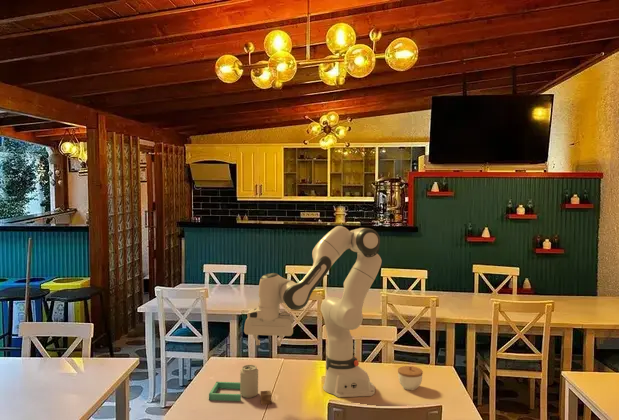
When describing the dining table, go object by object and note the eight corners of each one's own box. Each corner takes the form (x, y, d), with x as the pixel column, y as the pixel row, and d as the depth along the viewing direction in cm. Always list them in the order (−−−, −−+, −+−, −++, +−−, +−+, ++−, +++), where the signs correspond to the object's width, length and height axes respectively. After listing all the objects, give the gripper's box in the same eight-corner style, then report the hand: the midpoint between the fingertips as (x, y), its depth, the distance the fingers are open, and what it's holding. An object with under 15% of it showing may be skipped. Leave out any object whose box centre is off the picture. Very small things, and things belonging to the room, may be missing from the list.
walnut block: (270, 400, 207) (270, 390, 207) (271, 404, 203) (271, 394, 203) (260, 400, 206) (260, 391, 206) (261, 405, 202) (261, 395, 202)
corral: (246, 388, 218) (246, 382, 218) (240, 401, 205) (240, 395, 205) (216, 387, 219) (216, 381, 219) (208, 400, 206) (208, 394, 206)
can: (249, 389, 217) (249, 362, 216) (261, 394, 212) (262, 366, 211) (236, 395, 211) (236, 367, 210) (248, 400, 206) (249, 371, 205)
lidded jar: (406, 380, 229) (407, 360, 229) (427, 387, 221) (427, 366, 221) (392, 387, 221) (393, 366, 221) (413, 394, 214) (413, 373, 213)
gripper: (294, 311, 212) (293, 343, 212) (246, 309, 213) (246, 341, 214) (293, 315, 205) (292, 348, 206) (243, 313, 207) (243, 346, 207)
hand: (268, 345), depth 210 cm, fingers open, 7 cm apart
